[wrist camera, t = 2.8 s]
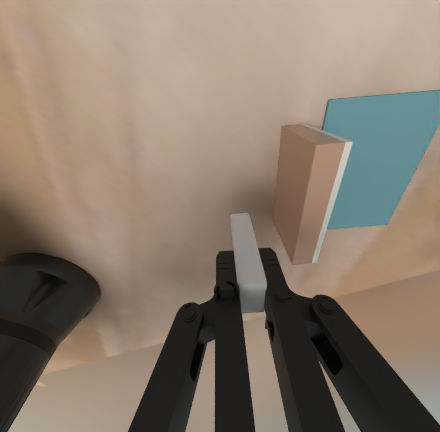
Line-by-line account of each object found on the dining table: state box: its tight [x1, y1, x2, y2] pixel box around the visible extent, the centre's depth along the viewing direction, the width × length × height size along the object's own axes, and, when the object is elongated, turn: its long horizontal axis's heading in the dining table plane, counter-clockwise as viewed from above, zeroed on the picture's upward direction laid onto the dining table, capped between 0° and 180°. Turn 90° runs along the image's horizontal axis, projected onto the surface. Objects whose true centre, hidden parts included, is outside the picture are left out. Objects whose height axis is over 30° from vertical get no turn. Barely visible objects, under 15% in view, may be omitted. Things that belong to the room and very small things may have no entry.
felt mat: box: [322, 90, 440, 229], centre depth 23 cm, size 12×16×1 cm
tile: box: [273, 124, 353, 264], centre depth 20 cm, size 2×12×8 cm, turn 4°
